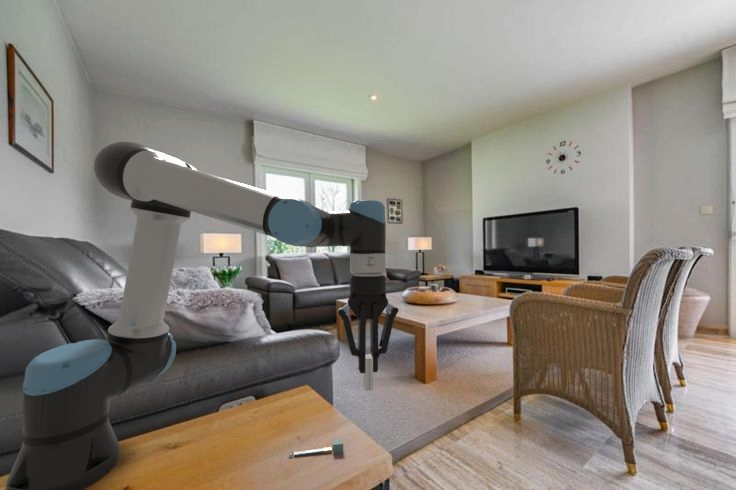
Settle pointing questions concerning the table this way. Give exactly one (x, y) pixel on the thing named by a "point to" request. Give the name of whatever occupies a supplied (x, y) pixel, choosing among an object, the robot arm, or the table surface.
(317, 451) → the bar
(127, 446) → the table surface
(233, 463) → the table surface
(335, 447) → the teal matte cube
